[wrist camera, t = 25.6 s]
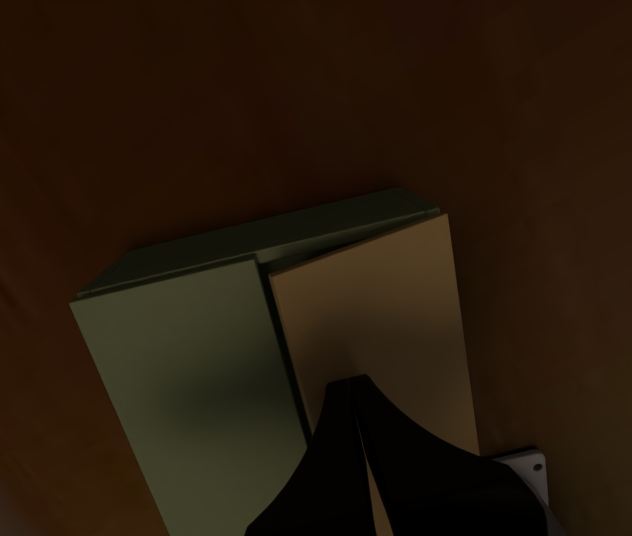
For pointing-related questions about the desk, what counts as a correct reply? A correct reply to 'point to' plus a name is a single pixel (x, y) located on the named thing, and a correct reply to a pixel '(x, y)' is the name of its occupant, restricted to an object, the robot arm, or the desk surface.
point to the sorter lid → (383, 330)
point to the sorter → (217, 356)
